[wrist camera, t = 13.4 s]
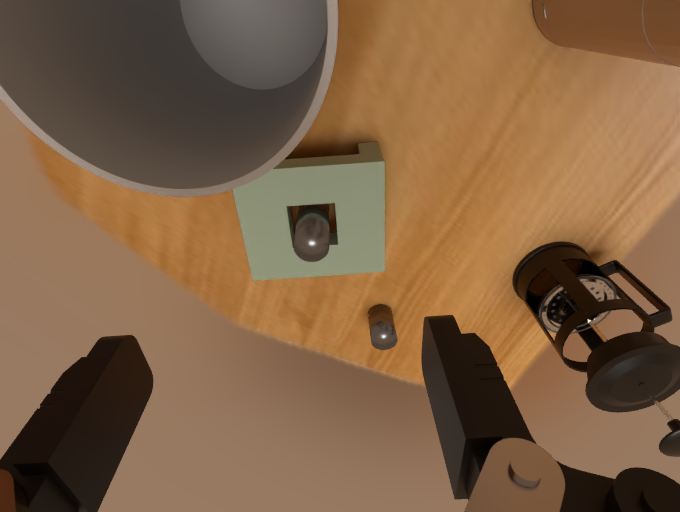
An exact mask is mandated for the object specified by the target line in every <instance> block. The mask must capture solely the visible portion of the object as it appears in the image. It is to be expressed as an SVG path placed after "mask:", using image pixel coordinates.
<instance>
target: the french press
mask: <svg viewBox="0 0 680 512" xmlns="http://www.w3.org/2000/svg"><path fill="white" fill-rule="evenodd" d="M576 259H577V260H578V262H579V265H580V271H579V274H578V275H574V274H573V272H572V271H571V270H570V269H569V268H568V267H567V266H566V265H565V264H564V263H563V261H566V260H576ZM546 268H547V269H548V270H549V271H550V272H551V274H552V275H553V276H554V277H555V278H556V280H557V281H558V283H557V284H555V285H554V286H553V287H552V288H551V289H549V290H548V291H547V293H546V294H545V295H544V296H543V297H540V296H535V295H533V294H531V293H529V292H528V288H529V286H530V284H531V283H532V281H533V280H534V279H535V277H536V276H538V275H539V274H540V273H541V272H542V271H543V270H545V269H546ZM614 273H619V274H620V275H621V276H622V277H623V278H625V279H626V280H627V281H628V282H629V283H630V284H631V285H632V286H633V287H634V288H635V289H636V290H638V291H639V292H640V293H641V294H642V295H643V296H644V297H645V298H646V299H647V300H648V301H649V302H650V303H651V304H653V305H654V306H655V307H656V308H657V309H658V310H659V311H658V312H656V313H653V314H650V315H648V314H647V313H646V312H645V311H644V310H643V309H642V308H641V307H640V306H639V305H637V304H636V303H635V302H634V301H633V300H632V299H631V298H630V297H629V296H627V294H626V293H625V292H624V291H623V290H621V288H619V286H617V285H616V284H615V283H614V282H613V281H612V280H611V279H610V278H609V277H608V276H609V275H611V274H614ZM513 287H514V290H515V292H516V293H517V295H518V296H519V297H520V298H521V299H522V300H523V301H524V302H525V304H526V305H527V307H528V308H529V310H530V311H531V313H532V314H533V316H534V317H535V319H536V320H537V322H538V323H539V325H540V327H541V328H542V330H543V331H544V333H545V334H546V336H547V337H548V339H549V340H550V342H551V343H552V345H553V346H554V348H555V349H556V351H557V352H558V354H559V355H560V357H561V358H562V360H563V361H564V363H565V364H566V365H567V366H568V367H569V368H572V369H574V370H576V371H580V372H587V377H588V382H587V384H586V390H585V391H586V396H587V398H588V399H589V401H590V402H591V403H592V404H593V405H594V406H595V407H597V408H599V409H601V410H604V411H609V412H629V411H635V410H639V409H643V408H646V407H649V406H652V405H654V404H655V405H656V406H657V407H658V408H659V410H660V411H661V412H662V413H663V414H664V415H665V417H666V418H667V419H668V421H669V422H668V423H667V425H668V426H669V428H670V429H671V430H672V432H670V433H669V434H668V435H666V436H665V437H664V438H663V439H662V440H661V442H660V444H659V450H660V452H662V453H663V454H665V455H667V456H674V457H680V421H679V420H678V419H673V418H672V417H671V416H670V415H669V414H668V412H667V411H666V410H665V409H664V407H663V406H662V405H661V404H660V402H661V401H663V400H665V399H666V398H668V397H669V396H671V395H672V394H674V393H675V392H676V391H677V390H679V389H680V347H679V346H676V345H673V344H670V343H669V342H668V341H667V340H666V339H665V338H664V337H662V336H660V335H659V334H656V333H654V328H655V327H657V326H660V325H663V324H665V323H668V322H670V321H672V314H671V309H670V307H669V306H668V305H667V304H666V303H664V302H663V301H662V300H661V299H660V298H659V297H658V296H657V295H655V294H654V293H653V292H652V291H651V290H650V289H649V288H647V287H646V286H645V285H644V284H643V283H642V282H641V281H640V280H638V279H637V278H636V277H635V276H634V275H633V274H632V273H630V272H629V271H628V270H627V269H626V268H625V267H624V266H623V265H622V264H620V263H619V262H618V261H617V260H613V261H610V262H608V263H606V264H603V265H601V266H599V267H598V266H597V265H596V264H595V263H594V262H593V261H592V260H591V259H590V258H589V256H588V254H587V253H586V251H585V250H584V249H583V248H581V247H580V246H578V245H576V244H573V243H568V242H555V243H550V244H547V245H544V246H541V247H539V248H537V249H535V250H534V251H532V252H531V253H529V254H528V255H527V256H526V257H525V258H524V259H523V260H522V261H521V262H520V263H519V265H518V266H517V268H516V270H515V272H514V276H513ZM617 295H618V297H619V298H621V299H616V297H617ZM619 309H629V310H633V312H634V313H635V314H636V315H637V316H638V317H639V318H640V319H641V320H642V321H643V327H642V329H641V332H632V333H627V334H623V335H620V336H617V337H614V338H612V339H610V340H607V339H606V338H605V337H604V335H603V334H602V333H601V332H600V331H599V329H598V328H597V327H596V326H595V325H596V324H598V323H599V322H600V321H602V320H603V319H604V318H605V317H606V316H607V315H608V314H609V313H610V312H611V310H619ZM537 315H538V316H539V317H538V316H537ZM547 330H549V331H551V332H554V333H557V334H556V337H555V341H554V340H553V338H552V337H551V335H550V334H549V332H548V331H547ZM577 332H578V334H579V335H580V336H581V338H582V339H583V340H584V342H585V343H586V344H587V345H588V347H589V348H590V350H591V351H592V352H591V354H590V355H589V357H588V360H587V362H576V361H572V360H569V359H567V358H565V357H564V356H563V346H564V343H565V341H566V339H567V338H568V336H569V334H572V333H577Z"/></svg>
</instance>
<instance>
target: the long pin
mask: <svg viewBox="0 0 680 512" xmlns="http://www.w3.org/2000/svg"><path fill="white" fill-rule="evenodd" d="M293 247H294V251H295V253H296V255H297V256H298V257H299V258H300V259H302V260H304V261H307V262H317V261H320V260H322V259H323V258H325V257H326V255H327V254H328V252H329V203H326V204H312V205H299V211H298V217H297V224H296V231H295V238H294V245H293Z"/></svg>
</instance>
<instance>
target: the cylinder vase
mask: <svg viewBox="0 0 680 512" xmlns="http://www.w3.org/2000/svg"><path fill="white" fill-rule="evenodd" d="M337 37H338V2H337V0H0V99H1V100H2V101H3V102H4V103H5V104H6V106H7V107H8V108H9V109H10V110H11V111H12V112H13V113H14V114H15V115H16V116H17V117H18V119H20V120H21V121H22V122H23V123H24V124H25V125H26V126H27V127H28V128H29V129H30V130H31V131H32V132H33V133H34V134H36V135H37V136H38V137H39V138H40V139H41V140H43V141H44V142H45V143H46V144H48V145H49V146H50V147H52V148H53V149H54V150H56V151H57V152H58V153H60V154H61V155H63V156H64V157H66V158H67V159H69V160H70V161H72V162H73V163H75V164H77V165H78V166H80V167H82V168H84V169H85V170H87V171H89V172H91V173H93V174H95V175H97V176H99V177H101V178H103V179H106V180H108V181H110V182H113V183H116V184H118V185H121V186H124V187H127V188H130V189H134V190H137V191H141V192H145V193H150V194H156V195H163V196H173V197H196V196H206V195H213V194H218V193H222V192H226V191H229V190H233V189H235V188H238V187H241V186H243V185H246V184H248V183H250V182H252V181H254V180H256V179H258V178H259V177H261V176H263V175H264V174H266V173H267V172H269V171H270V170H272V169H273V168H274V167H276V166H277V165H278V164H279V163H280V162H282V161H283V160H284V159H285V158H286V157H287V156H288V155H289V154H290V153H291V152H292V151H293V150H294V149H295V147H296V146H297V145H298V144H299V143H300V141H301V140H302V139H303V137H304V136H305V135H306V133H307V132H308V130H309V129H310V127H311V125H312V123H313V122H314V120H315V118H316V116H317V114H318V112H319V110H320V108H321V106H322V103H323V101H324V98H325V95H326V93H327V90H328V87H329V83H330V80H331V76H332V72H333V67H334V62H335V56H336V48H337Z"/></svg>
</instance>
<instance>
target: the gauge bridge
mask: <svg viewBox="0 0 680 512" xmlns="http://www.w3.org/2000/svg"><path fill="white" fill-rule="evenodd" d="M233 194H234V199H235V203H236V208H237V212H238V216H239V221H240V225H241V230H242V234H243V239H244V243H245V247H246V252H247V256H248V261H249V265H250V270H251V274H252V278H253V281H254V280H269V279H284V278H299V277H314V276H329V275H344V274H359V273H374V272H385V161H384V158H383V156H382V153H381V150H380V147H379V144H378V142H367V143H358V154H354V155H339V156H325V157H311V158H297V159H284V160H283V161H282V162H280V163H279V164H278V165H277V166H276V167H274V168H273V169H272V170H270V171H269V172H267V173H266V174H264V175H263V176H261V177H259V178H258V179H256V180H254V181H252V182H250V183H248V184H246V185H243V186H241V187H238V188H235V189H233ZM326 203H335V210H336V223H337V233H329V252H328V254H327V255H326V257H325V258H323V259H322V260H320V261H317V262H307V261H304V260H302V259H300V258H299V257H298V256H297V255H296V253H295V251H294V247H293V245H294V238H295V236H294V229H293V222H292V215H291V208H290V206H298V205H312V204H326Z"/></svg>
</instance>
